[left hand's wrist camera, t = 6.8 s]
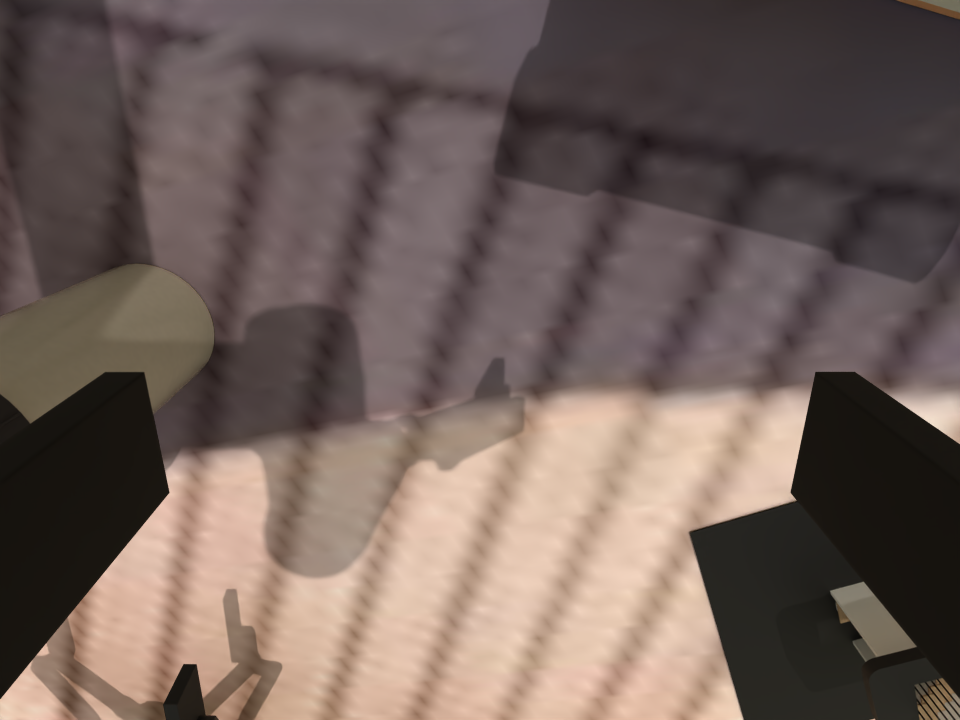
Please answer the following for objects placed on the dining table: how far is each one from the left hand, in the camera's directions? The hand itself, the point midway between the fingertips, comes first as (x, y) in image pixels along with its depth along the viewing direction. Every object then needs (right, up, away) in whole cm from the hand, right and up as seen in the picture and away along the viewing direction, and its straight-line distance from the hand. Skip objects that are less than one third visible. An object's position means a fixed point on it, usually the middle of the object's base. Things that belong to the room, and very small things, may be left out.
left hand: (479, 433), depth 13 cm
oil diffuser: (+32, -18, +37) cm, 52 cm away
